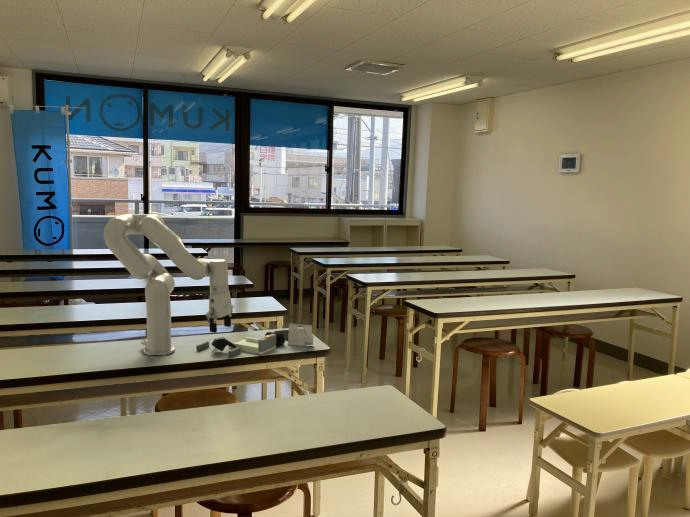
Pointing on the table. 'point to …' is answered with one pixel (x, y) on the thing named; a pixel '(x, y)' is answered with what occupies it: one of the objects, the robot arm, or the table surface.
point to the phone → (284, 332)
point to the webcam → (278, 338)
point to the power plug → (221, 344)
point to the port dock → (257, 344)
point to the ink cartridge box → (300, 335)
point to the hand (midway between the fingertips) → (220, 329)
